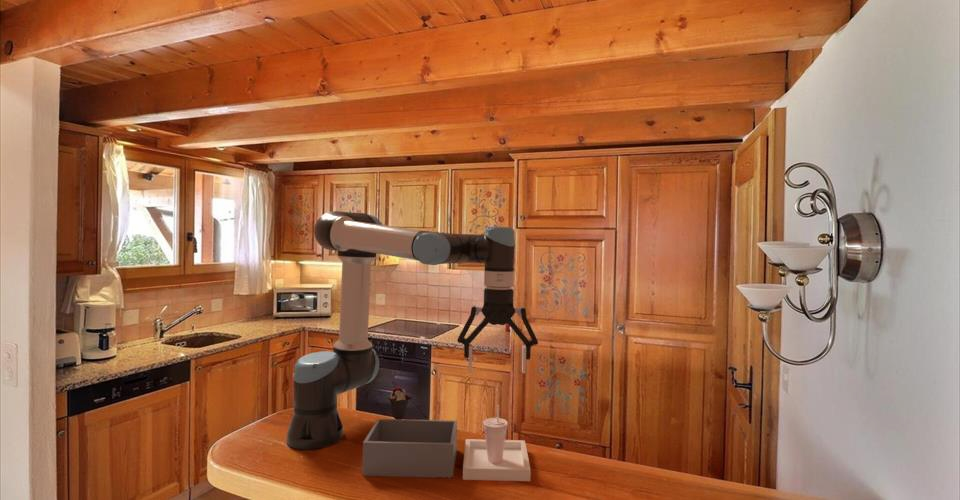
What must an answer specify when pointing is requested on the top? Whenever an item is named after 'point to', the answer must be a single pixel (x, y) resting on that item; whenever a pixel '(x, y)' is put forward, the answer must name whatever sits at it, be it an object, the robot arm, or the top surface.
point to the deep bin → (410, 448)
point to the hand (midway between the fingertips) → (496, 371)
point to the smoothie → (495, 437)
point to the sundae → (399, 402)
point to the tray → (507, 470)
